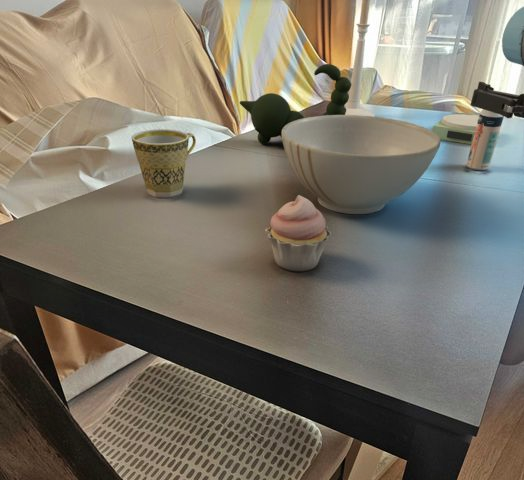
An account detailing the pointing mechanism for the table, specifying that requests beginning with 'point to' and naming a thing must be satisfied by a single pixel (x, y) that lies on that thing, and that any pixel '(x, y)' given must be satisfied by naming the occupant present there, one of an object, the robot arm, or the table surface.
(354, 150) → the decorative bowl
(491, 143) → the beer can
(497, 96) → the robot arm
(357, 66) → the candlestick
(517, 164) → the table surface
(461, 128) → the kitchen scale
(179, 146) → the ceramic cup
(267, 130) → the toy figurine
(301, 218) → the cupcake
